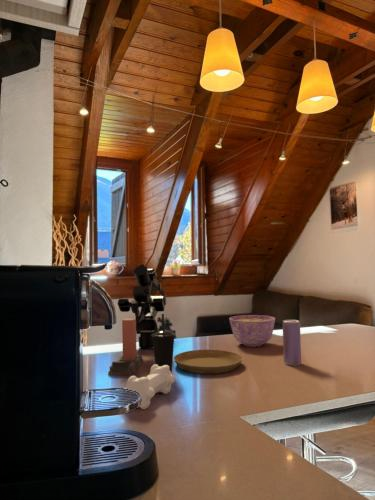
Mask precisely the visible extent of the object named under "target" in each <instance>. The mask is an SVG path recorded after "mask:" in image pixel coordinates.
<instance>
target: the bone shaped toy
mask: <svg viewBox="0 0 375 500" xmlns="http://www.w3.org/2000/svg"><path fill="white" fill-rule="evenodd" d="M169 369H170V367H169V366H168V365H163V366H158V365H157V364H155V363H154V364H153V365H152V366H151V367H150V371H149V374H148V375H146V376H141V377H137V376H136V375H130V377H128V378H127V382H126V387H124V388H123V389H128V390H132V391H136V392H138V393H139V394H141V396H142V402H141V405H140V406H139V407H138V408H140V409H141V410H146V409H148V407H149V406H150V404H151V400H152V398H153V397H154V396H155V394H157V393H162V394H164V395H167V394H169V393H170V392H171V390H172V384H174V383H175V381H176V377H175V375H174V374H173V373H171V371H170V370H169Z"/></svg>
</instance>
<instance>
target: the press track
mask: <svg viewBox="0 0 375 500" xmlns="http://www.w3.org/2000/svg"><path fill="white" fill-rule="evenodd" d="M137 357H138V358H137V359H136V360H135V361H134V362H133V363H129V361H121V360H122V359H123V355H122V356H121V357H120V358H118V359H117V360H115V361H114V360H113V361H112V363H111V364H112V365H110V366H109V371H108V372H107V375H108V376H109V375H110V376H111V375H113V376H117V375H119V376H123V375H124V376H133V375H134V373H135V372H136V371H137V370H138V369H139V368H140V367H141V365H142V364H143V363H144V359H143V355H141V354H140V355H139V356H137Z"/></svg>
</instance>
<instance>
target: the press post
mask: <svg viewBox="0 0 375 500" xmlns="http://www.w3.org/2000/svg"><path fill="white" fill-rule="evenodd" d="M121 322H122V323H121V327H122V328H121V329H122V330H121V331H122V332H121V334H122V356H123V359H122V360H121V361H129V363H133V362H134V361H135V360H136V359H137V358H138V357H139V356H137V354H138V353H137V333H136V317H135V318H134V317H133V318H124V319H122V320H121Z"/></svg>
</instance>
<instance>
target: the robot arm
mask: <svg viewBox="0 0 375 500" xmlns="http://www.w3.org/2000/svg"><path fill="white" fill-rule="evenodd" d="M133 274H134V276H135V277H134V278H135V280H136V283H137V284H138V285H137V286H135V285H134V286H133V287H132V295H133V300H131V302H130V301H129V298H118V300H117V302H116V303H117V306H118V308H119V311H120V312H121V313H128V312H129V311H131V312H132V313H133V314H134V316H135V318H136V335H139V336H138V339H137V340H138V347H139V349H140V350H147V349H154V347H153V338H152V336H151V334H153V333H155V332H156V331H159V327H158V323H157V320H156V317H157V315H158V313H160V312H164V311H165V307H166V305H167V293H166V292H165V291H164V289H163V288H162V283H161V282H159V280H158V279H157V277H158V273H157V271H156V269H155V268H148V267H147V266H146V265H145V264H143V263H141V264H139V266H136V267H135V268H134V269H133ZM156 291H157V292H159V293H160V295H151V294H152V292H156Z"/></svg>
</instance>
